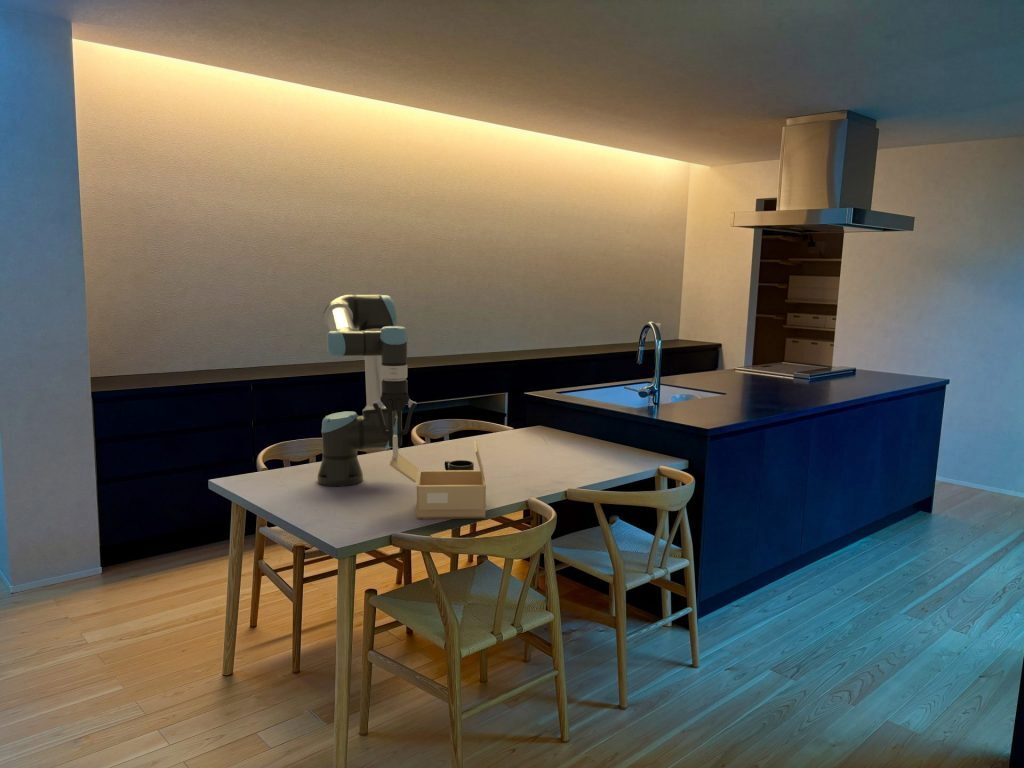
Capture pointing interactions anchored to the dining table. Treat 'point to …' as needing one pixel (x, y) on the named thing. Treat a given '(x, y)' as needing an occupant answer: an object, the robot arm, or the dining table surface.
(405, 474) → the flap left
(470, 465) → the mug
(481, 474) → the flap right
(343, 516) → the dining table surface
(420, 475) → the carton
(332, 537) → the dining table surface
